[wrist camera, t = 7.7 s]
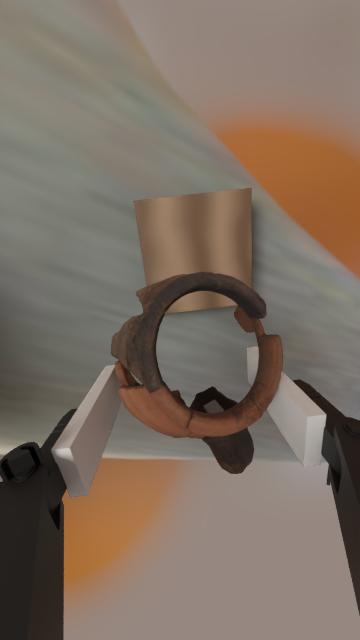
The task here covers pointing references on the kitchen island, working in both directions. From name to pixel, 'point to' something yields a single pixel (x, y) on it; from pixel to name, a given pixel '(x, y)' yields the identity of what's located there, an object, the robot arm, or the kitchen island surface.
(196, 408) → the brown piece
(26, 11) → the kitchen island surface
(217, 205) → the walnut riser block
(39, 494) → the robot arm
